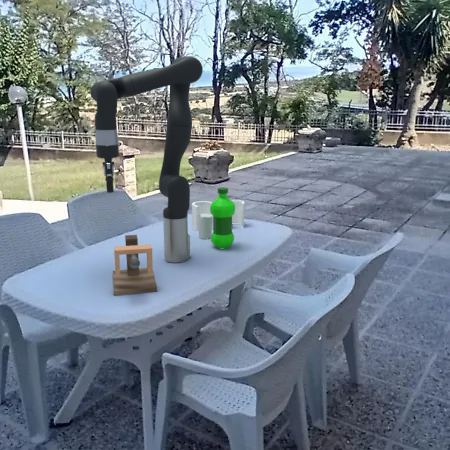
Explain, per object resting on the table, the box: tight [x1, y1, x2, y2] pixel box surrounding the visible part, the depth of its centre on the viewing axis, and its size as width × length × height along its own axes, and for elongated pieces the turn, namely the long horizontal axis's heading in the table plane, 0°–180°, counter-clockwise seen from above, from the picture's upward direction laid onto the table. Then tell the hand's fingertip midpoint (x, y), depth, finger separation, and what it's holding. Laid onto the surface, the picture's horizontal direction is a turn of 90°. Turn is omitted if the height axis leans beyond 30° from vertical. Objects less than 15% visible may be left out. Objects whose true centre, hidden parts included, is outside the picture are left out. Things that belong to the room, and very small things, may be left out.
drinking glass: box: [198, 214, 213, 240], centre depth 211 cm, size 7×7×10 cm
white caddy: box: [191, 199, 245, 232], centre depth 226 cm, size 25×10×12 cm, turn 103°
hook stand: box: [112, 234, 158, 296], centre depth 159 cm, size 24×14×15 cm, turn 14°
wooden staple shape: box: [113, 244, 154, 275], centre depth 157 cm, size 12×4×8 cm, turn 104°
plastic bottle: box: [210, 186, 235, 249], centre depth 197 cm, size 10×10×25 cm
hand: (110, 189), depth 167 cm, fingers open, 8 cm apart
